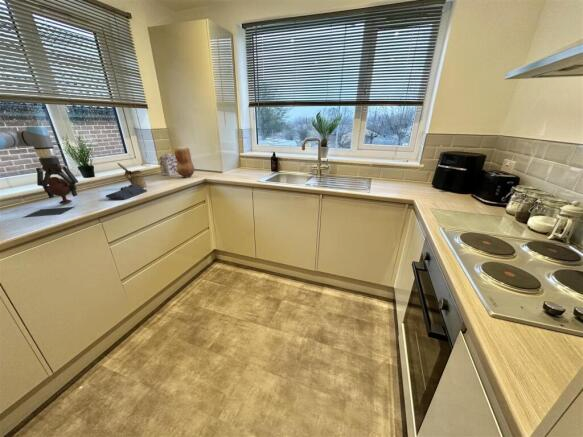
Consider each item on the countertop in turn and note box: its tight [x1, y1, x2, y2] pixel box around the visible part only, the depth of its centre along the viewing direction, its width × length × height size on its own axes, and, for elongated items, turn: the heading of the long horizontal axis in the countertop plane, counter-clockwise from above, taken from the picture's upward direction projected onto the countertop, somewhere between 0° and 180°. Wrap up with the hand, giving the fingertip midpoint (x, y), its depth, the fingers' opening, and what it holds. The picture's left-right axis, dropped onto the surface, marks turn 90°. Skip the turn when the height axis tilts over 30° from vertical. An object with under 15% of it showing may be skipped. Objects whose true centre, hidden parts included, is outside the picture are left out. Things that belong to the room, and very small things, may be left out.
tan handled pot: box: [116, 162, 147, 189], centre depth 167 cm, size 9×14×18 cm, turn 119°
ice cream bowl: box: [46, 176, 73, 205], centre depth 134 cm, size 11×11×15 cm
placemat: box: [22, 206, 75, 219], centre depth 124 cm, size 16×14×1 cm
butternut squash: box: [174, 145, 195, 178], centre depth 195 cm, size 14×13×25 cm
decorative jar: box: [158, 152, 179, 177], centre depth 208 cm, size 12×12×18 cm
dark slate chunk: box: [105, 183, 148, 200], centre depth 152 cm, size 15×22×5 cm
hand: (63, 196), depth 135 cm, fingers closed on ice cream bowl, 11 cm apart
